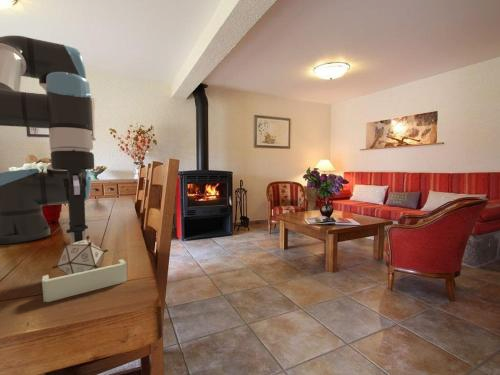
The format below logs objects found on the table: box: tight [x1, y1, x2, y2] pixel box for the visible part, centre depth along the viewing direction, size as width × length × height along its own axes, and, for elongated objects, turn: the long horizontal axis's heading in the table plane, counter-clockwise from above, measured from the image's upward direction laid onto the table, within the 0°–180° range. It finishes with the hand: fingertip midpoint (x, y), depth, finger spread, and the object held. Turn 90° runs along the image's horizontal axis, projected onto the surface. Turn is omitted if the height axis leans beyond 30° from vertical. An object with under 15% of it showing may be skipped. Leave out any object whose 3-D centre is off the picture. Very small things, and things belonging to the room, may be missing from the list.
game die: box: [51, 235, 109, 275], centre depth 52 cm, size 9×8×10 cm
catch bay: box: [41, 258, 128, 303], centre depth 48 cm, size 4×13×4 cm, turn 127°
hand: (79, 260), depth 56 cm, fingers closed
